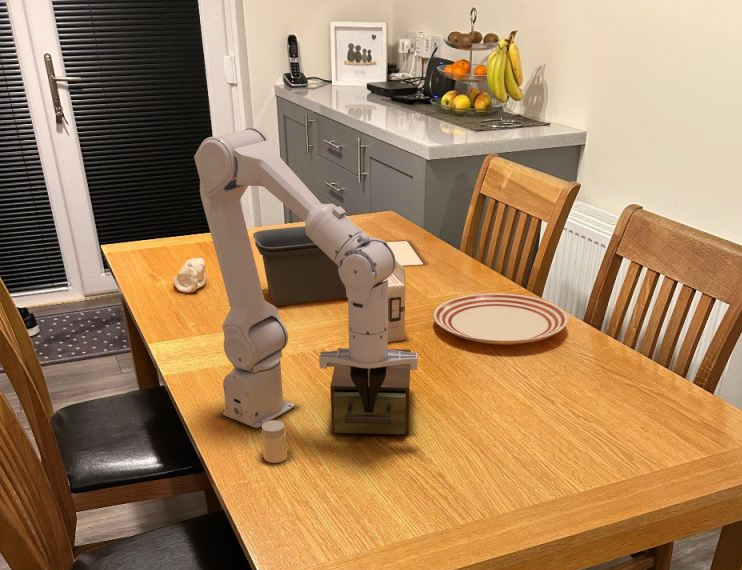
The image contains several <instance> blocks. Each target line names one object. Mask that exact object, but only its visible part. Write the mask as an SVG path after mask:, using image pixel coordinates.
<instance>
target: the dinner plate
mask: <svg viewBox="0 0 742 570" xmlns="http://www.w3.org/2000/svg"><path fill="white" fill-rule="evenodd" d="M433 320H434V322H435V323H436V324H437V325H438V326H439V327H440V328H442V329H443V330H445V331H447V332H448V333H450V334H452V335H454V336H457V337H458V338H463V339H465V340H468V341H472V342H476V343H480V344H485V345H492V346H514V345H522V344H528V343H533V342H538V341H542V340H544V339H545V340H546V339H547V338H550V337H552V336H554V335H556V334H558V333H560V332H561V331H562V330H564V329H565V327H567V325H568V323H569V316H568V314H567V313H566V311H565V310H563V309H562V308H561V307H560V306H558V305H556V304H555V303H552V302H550V301H546V300H544V299H540V298H537V297H533V296H528V295H522V294H514V293H501V292H499V293H498V292H497V293H495V292H492V293H491V292H489V293H477V294H468V295H464V296H459V297H455V298H452V299H449V300H447V301H444V302H443V303H441V304H439V305H438V306H437V307H436V308H435V309H434V311H433Z"/></svg>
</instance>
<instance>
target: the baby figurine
mask: <svg viewBox="0 0 742 570" xmlns="http://www.w3.org/2000/svg"><path fill="white" fill-rule="evenodd" d="M172 281H173V285H174V287H175V288H176V289H177V290H178V291H179V292H180V293H187V294H190V293H191V294H192V293H194V292H195V291H197V290H198V289H200V288H202V287H204V286H205V284H206V282H207V273H206V262H205V259H204V257H201V256H199V257H197V258H196V257H195V258H194V257H193V258H190V259H187V260H186V261H185V262H184V264H183V265H182V266H181V268H180V270H179V271H178V273H177V274H176V275H175V276H174V277H173V279H172Z"/></svg>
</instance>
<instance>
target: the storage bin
mask: <svg viewBox="0 0 742 570" xmlns="http://www.w3.org/2000/svg"><path fill="white" fill-rule="evenodd" d="M252 237H253V239H254V240H255V241H254V242H255V243H254V245H255V246H256V249H257V251H258V253H259V255H260V256H262V261H263V262H262V263H263V267H264V273H265V278H266V283H267V289H268V294H269V296H270V298H271V300H272V302H273V303H274V304H273V305H274V306H278V307H281V306H282V307H283V306H290V305H291V306H292V305H299V304H307V303H314V302H324V301H332V300H340V299H341V300H342V299H345V298H347V297H346V287H345V285H344V284H343V282H342V280H341V278H340V276H339V272H338V268H339V266H338V265H337V264H336V263H335V262H334V261H333V260H332V259H331V258H330V257H329V256H328V255H326V254H325V253H324V252H323V251H322V250H321V249H320V248H319V247H318V246H317V245H316V244H315V243H314V242H313V241H312V240H311V239H310V238H309V237H308V236H307V234H306V227H305V225H304V226H293V227H292V226H291V227H281V228H270V229H263V230H257V231H255V232H254V233H252Z"/></svg>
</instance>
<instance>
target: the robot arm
mask: <svg viewBox="0 0 742 570" xmlns="http://www.w3.org/2000/svg"><path fill="white" fill-rule="evenodd" d="M193 158H194V162H195V166H196V169H197V174H198V178H199V194H200V199H201V202H202V207H203V210H204V215H205V219H206V221H207V225H208V228H209V232H210V236H211V240H212V244H213V247H214V251H215V254H216V257H217V262H218V266H219V269H220V273H221V278H222V280H223V285H224V288H225V291H226V295H227V299H228V303H229V306H230V309H229V312H228V313H227V315H226V317H225V319H224V321H223V323H222V326H221V328H222V331H223V338H224V339H223V350H224V354H225V355H226V358H227V360H228V361H229V362H230V363H231V365H233V366H232V367H233V368H232V370H231V371H230V372H229V373H227V375H225V376H224V379H223V382H222V386H223V395H224V404H225V411H223V412H222V413H223V416H225V417H226V418H229V419H232V420H234V421H237V422H240V423H243V424H245V425H247V426H250V427H252V428H254V429H259V428H260V427H261V428H262V424H263V423H265V422H267V421H271V420H276V418H278V417H280V416H282V415H283V414H285V413H286V412H289V411H290V410H292V409H294V408H295V403H292V402H290V401H287V400H284V394H283V393H284V392H283V380H282V367H281V358H283V350H284V349H285V348H286V346H287V345H288V343H289V334H288V330H287V327H286V325H285V324H284V322H283V320H282V319H281V317H280V314H279V310H278V308H277V306H276V305H274V304H271V303H269V302H268V301H266V299H265V296H264V291H263V288H262V284H261V280H260V276H259V272H258V271H259V270H258V268H257V264H256V260H255V256H254V251H253V248H252V244H251V243H252V242H251V239H250V235H249V231H248V227H247V223H246V220H245V216H244V215H245V214H244V212H243V207H242V204H241V199H242V197H243V195H244V193H245V192H246V191H247V189H248V187H262V188H264V189H265V190H267V191H268V192H269V193H270V194H271V195H273V197H275V198H276V199H278V200H279V201H280V203H282V204H283V205H284V206H286V207H287V208H288V209H289V210H290V211H291V212H293V213H294V214H295V215H296V216H297V217H299V218H300V219H301V220H302V221H303V222H304V226H305V227H306V234H307V236H308V237H309V238H310V239H311V240H312V241H313V242H314V243H315V244H316V245H317V246H318V247H319V248H320V249H321V250H322V251H323V252H324V253H325V254H326V255H328V256H329V257H330V258H331V259H332V260H333V261H334V262H335V263H336V264H337V265H338V266H339V268H338V272H339V276H340V278H341V280H342V282H343V284H344V285H345V287H346V297H345V298H347V312H348V313H347V315H348V316H347V317H348V318H347V319H348V320H347V321H348V348H349V349H344V350H338V349H337V350H327V351H320V352H319V355H318V362H319V369H325V370H326V369H328V368H334V367H351V373H350V377H351V379H352V381H353V383H354V384H355V386H356V388H357V390H358V392H359V394H360V397H361V400H362V403H363V407H364V412H365V413H373V412H374V404H375V400H376V397H377V394H378V392H379V389H380V387H381V385H382V383H383V382H384V380H385V377H386V369H387V368H410V371H418V352H410V353H408V352H402V351H396V350H390V349H391V348H389V342H388V280H386V279H387V278H388V277H390V276H391V275H392V273H393V272H394V270H395V265H396V261H395V256H394V253H393V251H392V250H391V248H390V247H389V246H388V244H387V243H386V242H387V241H385V240H383V239H381V238H375V237H374V238H373V237H371V236H370V235H368V234H367V232H364V231H363V230H362V229H360V228H359V227H358V226H357V224H355V223H354V222H353V221H352V220H351V219H350V218H349V217H348V215H346V213H347V212H346V210H345V209H344V208H343V207H342V206H341V205H339V206H337V205H336V204H335V203H322V202H321V201H320V200H319V199H318V198H317V196H316V195H314V193H313V192H312V191H311V190H310V189H309V187H308V186H307V185H306V184H305V183H304V182H303V181H302V180H301V179H300V177H299V176H298V175H297V174H296V173H295V172H294V171H293V170H292V169H291V168H290V167H289V166H288V164H287V163H286V162H285V161H284V160H283V159H282V158H281V156H280V154H279V150H278V145H277V144H276V143H275V142H273V141H272V140H270V139H269V138H268V136H267V135H266V134H265V133H264V132H263V131H262V130H261V129H259V128H257V127H247V128H245V129H242V130H239V131H235V132H231V133H226V134H222V135H217V136H210V137H206V138H205V139H204V140H203V141H202V142H201V144H200V145H199V147H198V149H197V151H196V153H195V154H194V156H193ZM384 280H386V281H384ZM382 281H383V282H382ZM368 368H370V372H369V388H370V398H369V389H368Z"/></svg>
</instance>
